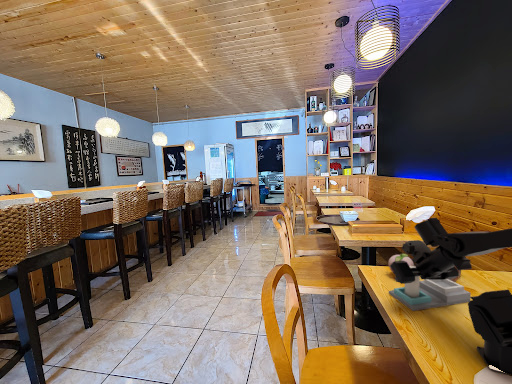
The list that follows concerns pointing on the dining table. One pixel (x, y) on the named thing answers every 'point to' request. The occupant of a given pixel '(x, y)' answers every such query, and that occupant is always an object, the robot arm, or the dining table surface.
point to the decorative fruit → (400, 258)
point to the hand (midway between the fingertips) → (408, 279)
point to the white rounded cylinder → (413, 287)
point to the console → (433, 294)
